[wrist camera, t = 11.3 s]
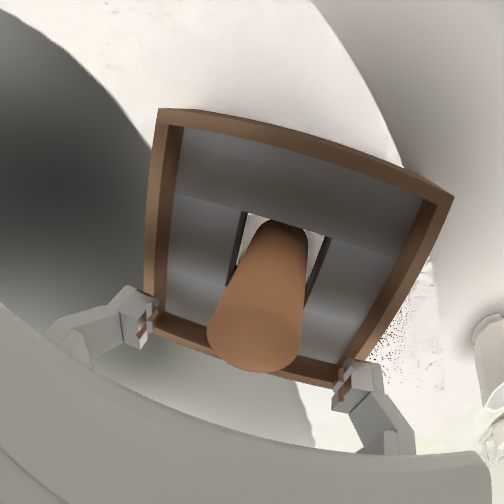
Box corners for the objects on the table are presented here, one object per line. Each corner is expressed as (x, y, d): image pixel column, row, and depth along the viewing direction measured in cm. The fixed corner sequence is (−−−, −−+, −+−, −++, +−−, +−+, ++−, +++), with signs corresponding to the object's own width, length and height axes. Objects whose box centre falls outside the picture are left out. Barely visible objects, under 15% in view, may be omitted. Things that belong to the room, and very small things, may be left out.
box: (195, 109, 17) (158, 108, 13) (422, 176, 16) (454, 196, 11) (171, 295, 25) (145, 330, 20) (340, 347, 23) (340, 390, 19)
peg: (260, 211, 19) (213, 292, 11) (315, 227, 19) (313, 323, 10) (248, 259, 21) (202, 356, 13) (298, 275, 21) (282, 381, 12)
